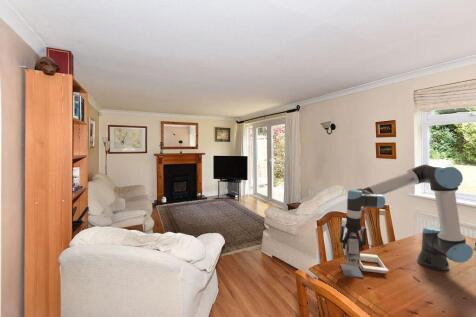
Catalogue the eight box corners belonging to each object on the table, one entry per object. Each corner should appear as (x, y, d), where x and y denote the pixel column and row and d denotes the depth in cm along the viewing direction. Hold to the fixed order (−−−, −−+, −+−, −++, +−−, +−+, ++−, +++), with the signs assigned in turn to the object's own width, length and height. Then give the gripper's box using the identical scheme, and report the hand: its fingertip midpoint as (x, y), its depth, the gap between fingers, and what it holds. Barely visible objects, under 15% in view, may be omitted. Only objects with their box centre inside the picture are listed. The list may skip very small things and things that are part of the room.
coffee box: (359, 267, 132) (361, 239, 131) (347, 265, 133) (348, 238, 132) (355, 259, 141) (356, 233, 140) (343, 257, 142) (344, 232, 141)
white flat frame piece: (376, 259, 151) (376, 255, 151) (388, 276, 133) (388, 270, 132) (354, 257, 154) (355, 252, 154) (363, 273, 136) (363, 267, 135)
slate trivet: (357, 267, 142) (357, 265, 142) (363, 278, 131) (363, 276, 130) (340, 265, 144) (340, 263, 144) (344, 275, 133) (344, 274, 133)
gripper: (370, 216, 137) (368, 254, 138) (334, 213, 141) (333, 250, 143) (374, 220, 129) (372, 260, 131) (337, 217, 134) (335, 256, 135)
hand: (351, 255), depth 137 cm, fingers closed on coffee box, 6 cm apart
